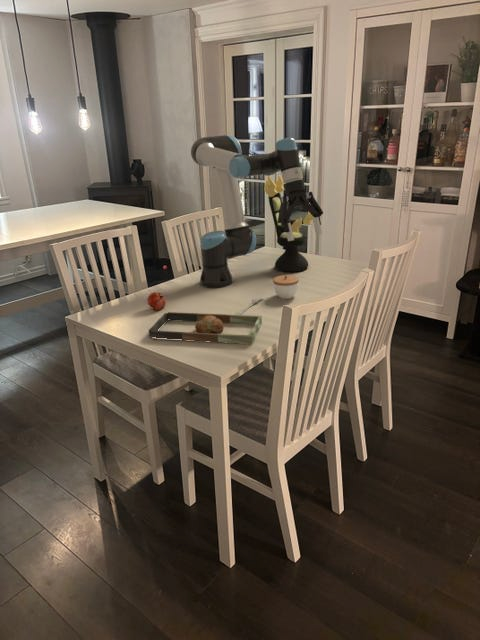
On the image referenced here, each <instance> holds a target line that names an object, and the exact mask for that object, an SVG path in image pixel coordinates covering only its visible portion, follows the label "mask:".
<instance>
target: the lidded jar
mask: <svg viewBox="0 0 480 640" xmlns="http://www.w3.org/2000/svg"><path fill="white" fill-rule="evenodd" d="M299 281H300V280H299V277H297V276H295V275H292V274H291V275H290V274H284V275H277V276H275V277H274V278H273V279H272V282H273V290H274V292H275V294H276V296H278V297H279V299H283V300H287V299H292V298H293V297H294V296H296V294H297V292H298V289H299Z"/></svg>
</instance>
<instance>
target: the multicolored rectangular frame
mask: <svg viewBox="0 0 480 640" xmlns="http://www.w3.org/2000/svg"><path fill="white" fill-rule="evenodd" d="M206 315H212V316H215V317H216V318H218V319H220V320H221V321H222V323H223V324H225V323H226V324H242V325H243V324H245V325H253V327H252V329H251V331H250V334H247V335H246V334H234V333H233V334H231V333H230V334H226V333H220V334H213V333H197V332H189V331H170V330H167V331H166V330H159V331H158V329H159V328H160V327H161V326H162V325H163V324H164V323H165V322H166V321H167V320H168V319H170V320H168V321H173V320H182V321H181V322H196V321H199V320H200V319H201V318H202V317H204V316H206ZM262 317H263V316H262V315H247V314H241V315H234V314H225V313H224V314H223V313H221V314H220V313H197V312H195V313H194V312H172V311H169V312H168V311H167V312H165V313H163V315H162V316H161V317H160V318H158V320H157V321H156V322H155V323H154V324H153V325H152V326H151V328H149V329H148V336H149V337H150V336H151V337H156V338H167V339H182V340H194V341H210V342H209V343H212V342H227V343H226V344H231V343H239V344H238V345H249V344H252V345H253V344H254V342H255V339H256V337H257V336H258V333H259V331H260V328H261V326H262V324H263V318H262ZM168 321H167V322H168ZM167 322H166V323H167ZM166 323H165V324H166ZM165 324H164V325H165ZM194 341H193V342H194Z"/></svg>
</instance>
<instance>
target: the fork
mask: <svg viewBox="0 0 480 640" xmlns="http://www.w3.org/2000/svg"><path fill="white" fill-rule="evenodd" d="M259 300H263V298H261V297H254V298H252V299H251V303H250V305H248V306H246V307H244V308H243V309H240V310H239V311H237V312H235V313H234V314H233V315H243V313H244V312H245V311H246V310H248V309H249V308H251V307H252V306H253V305H254V304H255V303H257V302H258V301H259Z"/></svg>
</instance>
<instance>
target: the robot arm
mask: <svg viewBox="0 0 480 640" xmlns="http://www.w3.org/2000/svg"><path fill="white" fill-rule="evenodd" d="M190 157H191V158H192V161H193V163H195V164H197V165H199V166H201V167H202V166H203V167H212V168H213V170H214V172H216V173H217V177H218V184H219V188H220V193H221V200H222V201H221V202H222V206H223V211H224V217H225V223H226V226H225V228H224V229H223V230H214V231H209V232H206V233H205V234H203V235H202V236H201V238H200V251H201V253H200V254H201V262H202V270H201V275H200V280H199V281H200V283H199V284H200V285H201V286H202V287H204V288H209V289H211V288H212V289H216V288H223V287H227V286H230V285H231V284H232V283H233V281H234V280H233V276H232V273H231V271H230V268H229V264H228V260H229V259H232V258H236V257H242V256H247V255H249V254H251V253H253V252H254V250H255V248H256V247H257V236H256V233H255V232H254V230H253V229H252V228H250V226H249V224H248V223H247V222H246V220H245V215H244V209H243V202H242V198H241V191H240V185H239V180H238V179H244V178H247V177H248V178H249V177H255V176H263V175H264V176H266V177H268V176H270V177H271V176H272V175H273V176H274V175H275V174H277V173H279V172H280V173H281V178H282V180H283V183H284V184H283V188H284V189H285V190H284V191H285V192H284V193H285V195H284V196H281V198H280V202H281V205H280V210H279V216H278V223H281V224H283V227H284V231H285V233H286V234H287V238H288V241H292V240H294V238H293V233H292V228H291V226H292V225H291V224H290V223H288V221H289V220H290V219H291V216H292V214H293V211H294V209H295V208H296V207H297V208H298V207H303V208H304V209H305V210H306V211H308V212H307V213H310V214H311V215H312V216H313V217H314V218H313V219H312V223H313V228H314V232H315V236H318V235H322V233H323V232H322V228H321V225H322V223H321V218H320V217H322V215H324V211H323V210H322V208H321V206H320V205H319V203H318V201H317V200H316V198H315V197H314V192H313V191H308V192H306V186H305V185H306V184H305V181H304V179H303V178H304V177H303V176H304V175H303V172H302V167H301V162H300V157H299V150H298V146H297V142H296V140H295V138H292V137H285V138H282V139H279V140H277V141H276V142H275V150H274V151H272V152H269V153H261V154H254V155H253V154H252V155H245V154H243V151H242V147H241V143H240V141H239V140H238V139H237V138H236V137H235V136H234V135H230V134H229V135H226V134H224V135H215V136H204V137H200V138H198V139H197V140H195V141H194V142H193V144H192V146H191V149H190Z"/></svg>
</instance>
